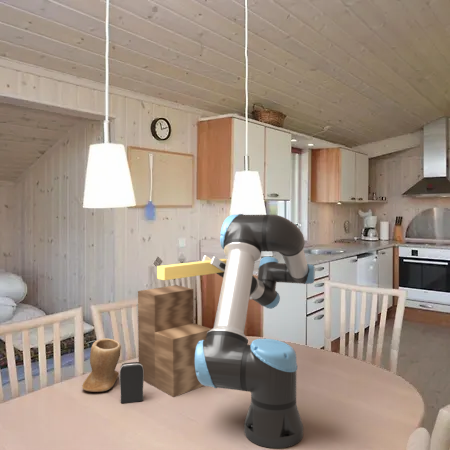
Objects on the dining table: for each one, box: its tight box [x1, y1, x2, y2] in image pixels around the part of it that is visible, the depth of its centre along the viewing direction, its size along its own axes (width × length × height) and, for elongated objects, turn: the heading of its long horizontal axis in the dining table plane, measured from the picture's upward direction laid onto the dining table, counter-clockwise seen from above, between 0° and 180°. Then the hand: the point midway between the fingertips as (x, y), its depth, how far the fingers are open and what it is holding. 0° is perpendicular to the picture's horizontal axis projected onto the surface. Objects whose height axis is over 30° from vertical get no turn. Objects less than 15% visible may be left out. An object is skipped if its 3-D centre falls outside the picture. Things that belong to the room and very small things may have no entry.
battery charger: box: [119, 361, 144, 404], centre depth 132 cm, size 7×4×11 cm, turn 103°
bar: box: [156, 258, 227, 281], centre depth 145 cm, size 28×4×4 cm, turn 132°
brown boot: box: [81, 337, 122, 393], centre depth 143 cm, size 15×12×15 cm
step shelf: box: [137, 284, 212, 398], centre depth 146 cm, size 16×20×30 cm
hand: (208, 259), depth 148 cm, fingers closed on bar, 4 cm apart
